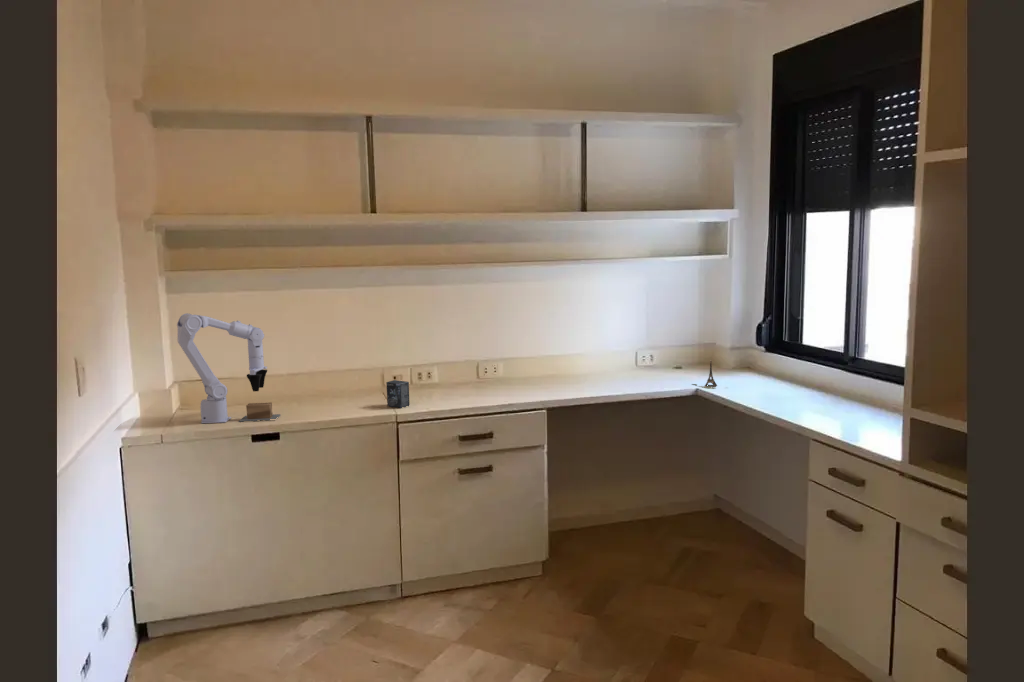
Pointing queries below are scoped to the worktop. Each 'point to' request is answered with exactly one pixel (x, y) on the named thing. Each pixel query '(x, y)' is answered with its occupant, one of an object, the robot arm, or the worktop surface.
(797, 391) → the worktop surface
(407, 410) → the worktop surface
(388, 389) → the box
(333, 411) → the worktop surface
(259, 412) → the walnut block
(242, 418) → the mat
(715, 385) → the eiffel tower figurine
